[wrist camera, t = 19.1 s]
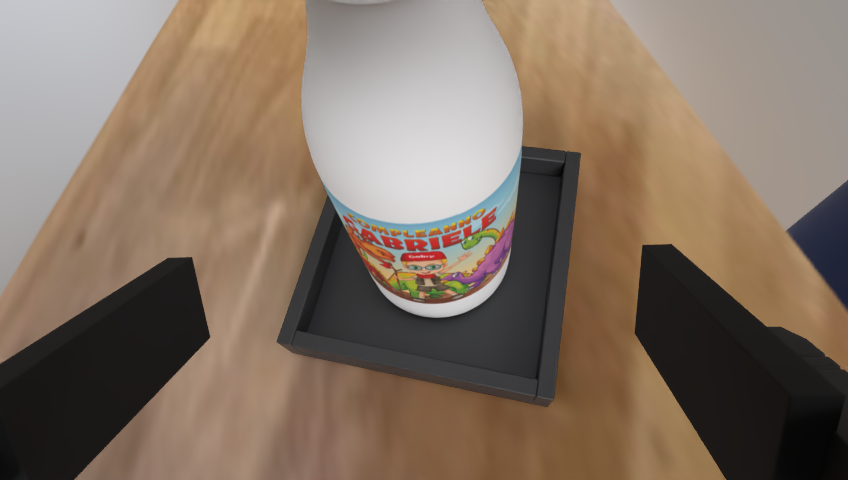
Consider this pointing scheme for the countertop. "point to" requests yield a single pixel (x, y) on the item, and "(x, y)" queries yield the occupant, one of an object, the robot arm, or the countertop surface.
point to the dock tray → (461, 334)
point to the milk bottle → (417, 143)
